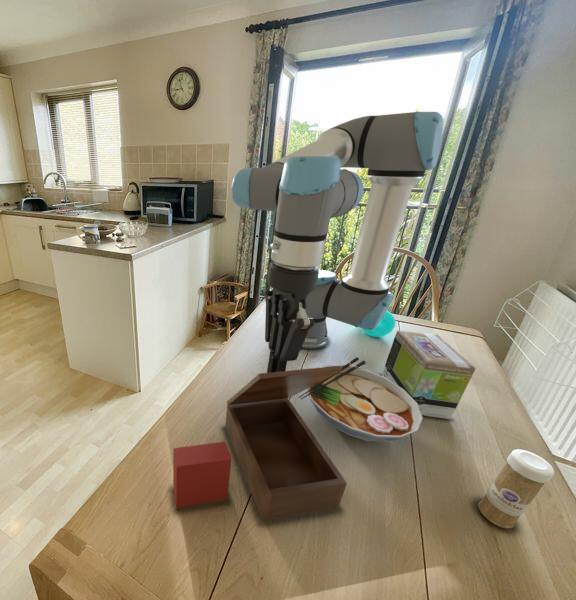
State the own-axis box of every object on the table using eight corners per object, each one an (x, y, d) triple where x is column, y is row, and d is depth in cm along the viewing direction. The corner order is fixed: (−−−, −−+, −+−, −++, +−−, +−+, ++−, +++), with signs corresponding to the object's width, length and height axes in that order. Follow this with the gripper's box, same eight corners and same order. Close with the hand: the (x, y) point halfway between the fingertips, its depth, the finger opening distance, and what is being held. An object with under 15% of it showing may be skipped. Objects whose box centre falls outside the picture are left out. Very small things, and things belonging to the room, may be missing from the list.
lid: (342, 370, 50) (340, 365, 50) (260, 378, 48) (258, 373, 48) (288, 398, 68) (287, 394, 68) (227, 405, 66) (226, 401, 66)
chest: (337, 510, 53) (347, 483, 50) (260, 523, 51) (266, 496, 48) (283, 421, 71) (287, 398, 68) (224, 429, 69) (227, 405, 66)
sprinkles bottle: (477, 517, 52) (514, 462, 47) (476, 496, 56) (510, 443, 50) (515, 536, 50) (559, 480, 44) (512, 513, 53) (552, 459, 47)
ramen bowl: (373, 487, 57) (385, 456, 54) (276, 410, 75) (281, 382, 71) (433, 430, 69) (446, 402, 66) (337, 375, 87) (344, 350, 83)
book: (173, 491, 56) (173, 448, 52) (221, 483, 58) (225, 441, 53) (176, 510, 53) (176, 466, 49) (227, 502, 54) (232, 458, 50)
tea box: (452, 420, 72) (478, 368, 66) (404, 414, 74) (425, 362, 67) (419, 379, 85) (439, 333, 79) (379, 374, 87) (395, 328, 81)
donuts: (381, 326, 112) (389, 301, 108) (392, 340, 104) (401, 313, 99) (351, 322, 115) (358, 298, 110) (359, 336, 106) (367, 310, 102)
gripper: (256, 252, 54) (243, 363, 64) (292, 278, 43) (269, 409, 52) (295, 251, 55) (277, 360, 65) (342, 276, 44) (310, 404, 53)
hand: (274, 382), depth 59 cm, fingers closed
